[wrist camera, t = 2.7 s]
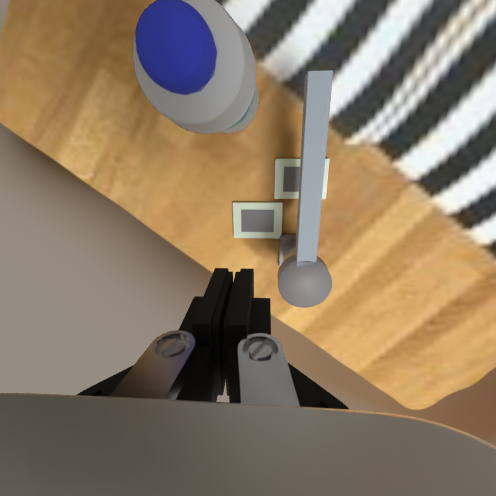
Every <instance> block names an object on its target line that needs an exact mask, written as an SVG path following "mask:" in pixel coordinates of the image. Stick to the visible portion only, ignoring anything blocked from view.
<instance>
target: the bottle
mask: <svg viewBox="0 0 496 496" xmlns="http://www.w3.org/2000/svg"><path fill="white" fill-rule="evenodd" d="M133 60H134V69H135V73H136V76H137V80H138V82H139V85H140V87H141V89H142V91H143V93H144V95H145V96H146V98H147V99H148V101H149V102H150V103H151V104H152V106H153V107H154V108H155V109H156V110H157V111H159V112H160V113H161V114H162V115H164V116H165V117H167V118H168V119H170V120H171V121H172V122H174V123H175V124H176V125H178V126H179V127H181V128H183V129H185V130H187V131H191V132H195V133H203V134H207V133H214V132H222V133H235V132H238V131H240V130H242V129H244V128H245V127H246V126H248V125H249V124H250V123H251V122H252V120H253V118H254V117H255V114H256V112H257V108H258V104H259V93H258V88H257V85H256V82H255V79H256V69H255V60H254V56H253V52H252V48H251V46H250V43H249V41H248V39H247V37H246V35H245V34H244V32H243V31H242V29H241V28H240V27H239V26H238V25H237V24H236V23H235V21H234V20H233V19H232V17H231V16H230V15H229V13H228V12H227V11H226V10H225V9H224V8H223V7H222V6H221V5H220V4H219V3H218V2H216V1H215V0H156V1H155V2H154V3H152V4H150V5H149V6H148V8H146V9H145V10H144V11H143V13H142V15H141V16H140V18H139V21H138V24H137V27H136V33H135V38H134V43H133Z"/></svg>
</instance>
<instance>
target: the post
mask: <svg viewBox="0 0 496 496" xmlns="http://www.w3.org/2000/svg"><path fill="white" fill-rule="evenodd" d="M295 249H296V234H282V235H280V245H279V268H280V266H281V264H282V263H283V261H284V260H285V259H287V258H288V257H290V256H292V255H294V254H295Z"/></svg>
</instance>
